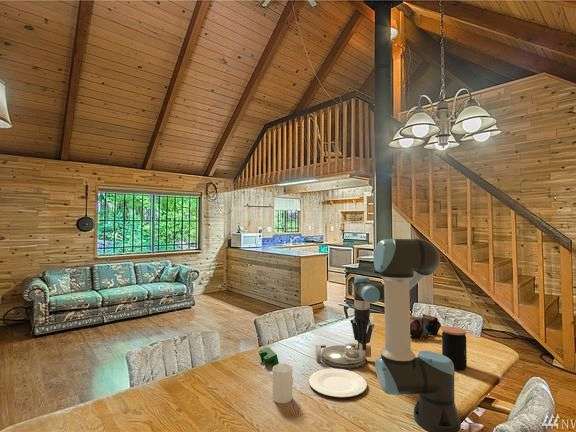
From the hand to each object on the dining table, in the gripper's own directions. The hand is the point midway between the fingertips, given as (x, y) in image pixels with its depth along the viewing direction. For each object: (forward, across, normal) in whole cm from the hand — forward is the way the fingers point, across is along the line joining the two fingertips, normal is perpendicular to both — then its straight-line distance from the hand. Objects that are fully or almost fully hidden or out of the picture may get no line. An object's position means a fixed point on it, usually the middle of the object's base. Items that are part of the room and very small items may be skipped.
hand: (362, 356), depth 157 cm
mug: (+5, +6, +47) cm, 48 cm away
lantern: (+6, +2, -63) cm, 63 cm away
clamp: (+6, +34, +32) cm, 47 cm away
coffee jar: (+5, -30, -34) cm, 46 cm away
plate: (+6, -4, +23) cm, 24 cm away
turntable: (+3, +10, -1) cm, 11 cm away
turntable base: (+5, +12, 0) cm, 13 cm away
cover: (+2, +6, 0) cm, 6 cm away
